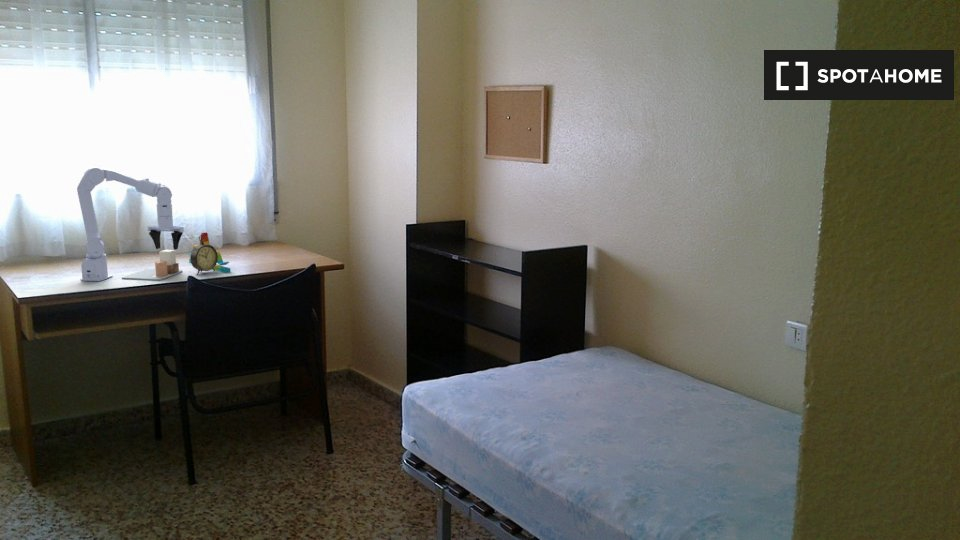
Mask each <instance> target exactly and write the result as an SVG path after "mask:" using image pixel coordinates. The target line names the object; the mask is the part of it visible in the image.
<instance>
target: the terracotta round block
mask: <svg viewBox="0 0 960 540" xmlns="http://www.w3.org/2000/svg"><path fill="white" fill-rule="evenodd" d="M154 266H155V268H154V269H155V270H156V276H157V277H165V276H168V272H167V262H166V261H160V260H158V261H155V262H154Z"/></svg>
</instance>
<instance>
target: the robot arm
mask: <svg viewBox="0 0 960 540" xmlns="http://www.w3.org/2000/svg"><path fill="white" fill-rule="evenodd" d="M104 181H106V182H110V181H111V182H112V181H114V182H115V181H116V182H119V183H122V184H124V185H128V186H131V187H133V188H135V189H136V191H137V193H139V194H140V193H141V194H143V195H146V196H149V197H152V198H155V197H156V203H157V204H156V214H157V215H156V216H157V225H147V231H148V235H149V236H150V238H151V240H152V241H153V243H154V247H155V249H156V250H158V249H161V233H162V232H171V233H170V235H171V238H172V245H173V246H172V247H173V248H172V249H173V250H175V251H176V250H178V249H179V243H180V240H181V237H182V236H183V233H184V232H185V229H184V226H176V225H174V222H173V221H174V219H173V204H172V196H173V193H172V191H171V190H170V189H171V188H170V187H168V186H166V185H164V184H161V183H160V182H158V183H157V182H154V181H151V180H150V178H147V177H145V178H143V177H142V178H139V179H137V178H134V177H132V176H129V175H126V174H124V173H121V172H118V171H116V170H114V169H111V168H107V167H101V166H98V165H93V166H91V167H89V168H88V169H87V170H86V171H85V172H84V173H83V175H82V177H81V179H80V181H79V183H78V185H77V188H76V191H77V196H78V201H79V205H80V210H81V215H82V220H83V221H82V222H83V224H84V230H85V235H86V241H87V244H86V252H87V253H86V255H85V256H86V257H85V259H83V260H82V262H81V277H82V278H80V281H83V282H84V281H85V282H86V281H87V282H101V281H104V280H107V279H109V278H113V277H114V276H113V275H111V274H110V275H109V273H108V259H107V254H106V253H105V242H104V241H103V240H102V238H101V236H100V235H101V234H100V231H99V227H98V221H97V216H96V213H95V206H94V202H93V198H92V191H93V190H94V189H95V187H96V186H98V185H100V184H101V183H103V182H104Z"/></svg>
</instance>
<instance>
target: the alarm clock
mask: <svg viewBox="0 0 960 540" xmlns="http://www.w3.org/2000/svg"><path fill="white" fill-rule="evenodd" d="M201 235H204V234H200V235H199V237H198V241H199V244H196V245H197V246H196V247H195V248H194V249H193V248H192V250H191V252H190V253H191V255H189V256H190V257H189V259H190V260H191V263H190V264H191V266H192V267H193V269H195V270H197V273H196V275H197V276H198V275H199V274H200V273H202V272H210V271H212V269H213V272H216V271H215V270H214V267H215V266H216V264H217V265H218V263H217V260H218V255H217V252H218V251H217V250H216V248H215V247H214V246H213V245H211V244H210V245H204V243H203V242H204V241H205V240H204V241H200V239H201ZM204 237H205V235H204ZM205 238H206V237H205ZM200 242H201V244H200Z"/></svg>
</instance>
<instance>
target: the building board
mask: <svg viewBox="0 0 960 540" xmlns="http://www.w3.org/2000/svg"><path fill="white" fill-rule="evenodd" d="M181 273H183V270H180V269H179V272H176V273H173V274H168V276H165V277H157V276H156V270H155V268H145V269H143V270H139V271H137V272H134V273H131V274H128V275H125V276H122V277H121V280H136V281H153V282H154V281H155V282H156V281H157V282H158V281H159V282H160V281H163V280H165V279H168V278H171V277H174V276H176V275H179V274H181Z"/></svg>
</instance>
